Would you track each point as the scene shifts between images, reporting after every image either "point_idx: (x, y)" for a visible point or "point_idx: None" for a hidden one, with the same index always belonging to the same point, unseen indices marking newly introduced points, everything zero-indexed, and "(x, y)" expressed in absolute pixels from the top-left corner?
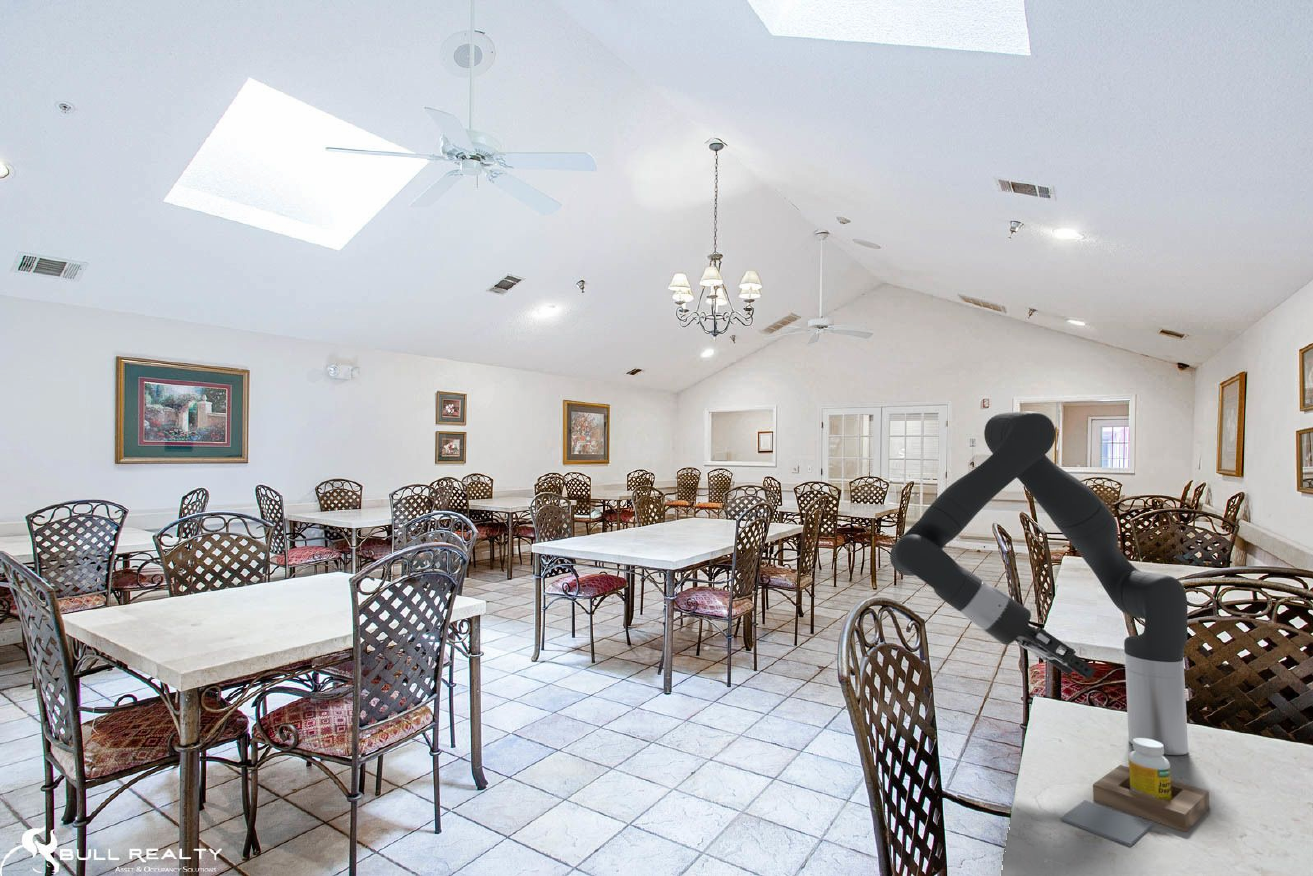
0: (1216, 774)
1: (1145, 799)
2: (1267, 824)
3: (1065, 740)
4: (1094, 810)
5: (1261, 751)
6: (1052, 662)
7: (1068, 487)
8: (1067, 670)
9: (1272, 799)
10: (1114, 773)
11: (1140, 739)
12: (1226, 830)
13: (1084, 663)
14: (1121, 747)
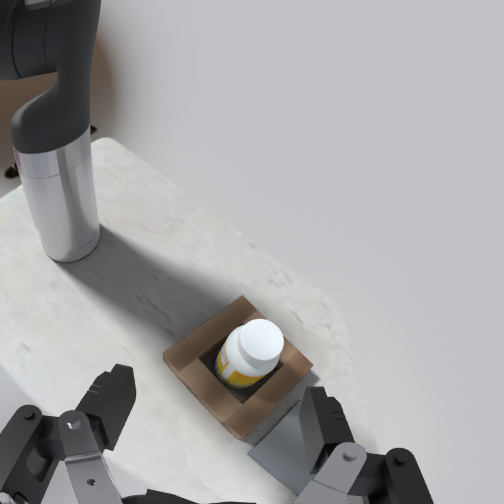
0: (150, 235)
1: (281, 390)
2: (268, 277)
3: (28, 339)
4: (278, 454)
5: (109, 164)
6: (115, 441)
7: None
8: (132, 398)
9: (210, 231)
10: (197, 383)
11: (249, 342)
12: (290, 325)
13: (345, 419)
14: (62, 280)
